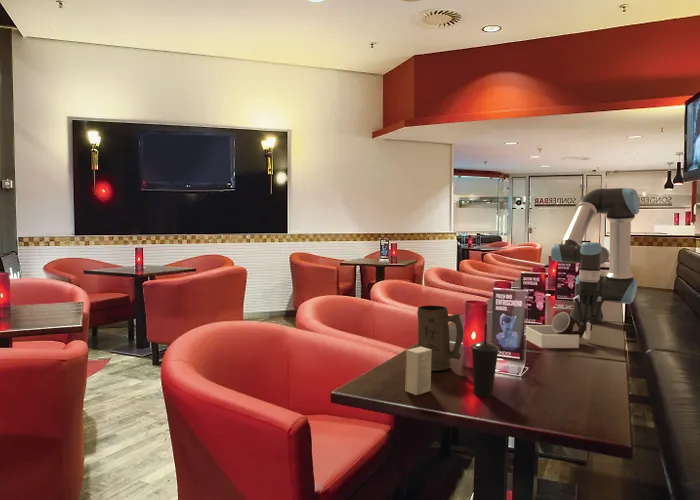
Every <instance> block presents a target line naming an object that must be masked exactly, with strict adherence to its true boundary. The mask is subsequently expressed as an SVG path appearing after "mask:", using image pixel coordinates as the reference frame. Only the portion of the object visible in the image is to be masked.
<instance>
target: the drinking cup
mask: <svg viewBox="0 0 700 500" xmlns="http://www.w3.org/2000/svg"><path fill="white" fill-rule="evenodd" d="M483 333H484V335H483V341H478V342H476V343H472V344H471V345H470V348H471V353H472V354H471V355H472V357H471V359H472V374H473V392H474V396H477V397H479V398H491V397H492V396H493V391H494V384H495V377H496V370H497V361H498V354H499V351H500V347H499V346H498V345H496V344H494V343H492V342H489V341H487V337H488V324H487V323H484V330H483Z"/></svg>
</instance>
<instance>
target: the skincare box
mask: <svg viewBox="0 0 700 500" xmlns="http://www.w3.org/2000/svg"><path fill="white" fill-rule="evenodd" d="M431 355H432V350H431V349H428V348H425V347H421V346H420V347H418V346H417V347H413V348H407V349H406V353H405V381H404V383H405V386H404V390H405V392H407V393H408V394H412V395H414V396H417V395H422V394H424V393H428V392H431V384H432V383H431V381H432V379H431V378H432V371H431Z"/></svg>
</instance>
